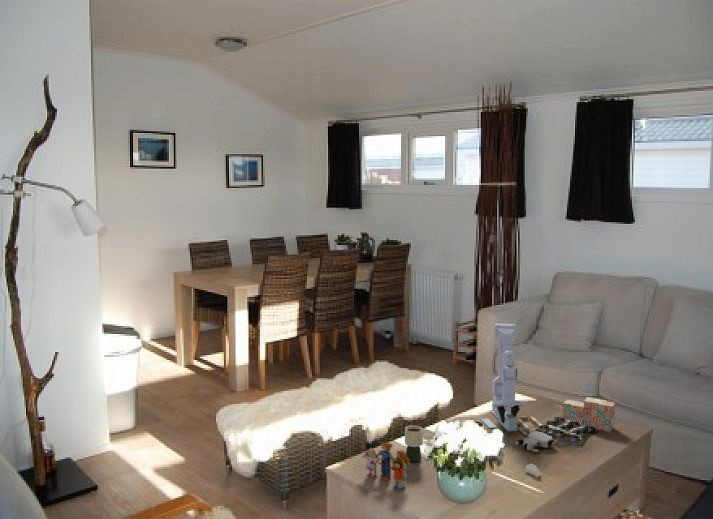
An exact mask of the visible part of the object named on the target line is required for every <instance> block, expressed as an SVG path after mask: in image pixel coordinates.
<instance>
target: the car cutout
mask: <svg viewBox="0 0 713 519" xmlns="http://www.w3.org/2000/svg"><path fill="white" fill-rule="evenodd" d="M524 471H525V472H524V473H525V474H531V475H534V476H535V478H538V477H541V470H540V469H539V468H538V467H537V465H536V464H533V463H529V464H526V465H525V470H524Z"/></svg>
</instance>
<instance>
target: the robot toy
mask: <svg viewBox="0 0 713 519" xmlns="http://www.w3.org/2000/svg"><path fill="white" fill-rule="evenodd" d="M533 431H534V430H533ZM533 431H532V432H531V433H529V434H528V436H527V438H526V439H517V440H516V441H514V444H515V445H519V446H522V448H523V450H527V451H531V452H535V453H538V452H539V450H540V448H549V447H551V446H553V445H554V444H555V443H557V441H558V440H557V439H558V438H556V439H555V440H554V437H553V436H552V435H550V436H549V435H547V434H545V433H543V432H539V431H534V432H533ZM552 437H553V438H552Z"/></svg>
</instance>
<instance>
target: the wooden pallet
mask: <svg viewBox="0 0 713 519" xmlns="http://www.w3.org/2000/svg"><path fill="white" fill-rule="evenodd" d="M515 418H516V419H517V431H518V432H519V433H520V434H521V435H522V436H523V437H528V434H529V433H531V432H532V431H533V430H534V431H535V430H536V428H537V427H539V426H541V425H543V424H542V423H541V422H540V421H539V420H537V419H536V418H535V416H532V415H531V416H528V415H527V416H526V415H525V416H524V415H523V416H516V417H515ZM534 431H533V432H534Z"/></svg>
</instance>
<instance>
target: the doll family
mask: <svg viewBox="0 0 713 519" xmlns="http://www.w3.org/2000/svg"><path fill="white" fill-rule="evenodd" d="M393 446H394V444H393V443H389V442H383V443H381V447H380V448H381V449H382V450H379V451H378V452H377V453H376V450H375V449H374V448H369V449H368V450H365V451H364V454H362V456H361V457H362V458H363V459H366V460H367V462H366V467H365V469H366V470H368V474H366V476H367V477H369V478H371V479H373V480H376V479H378V474H377V464H378V465H380V472H381V473H380V478H383V479H384V480H386V481H387V480H390V479H391V475H392V474H391V470H392V471H393V479H394V485H393V487H392V488H393V489H395V490H396V491H397V492H402V491H403V490H404V488H403V487H404V486H403V485H405V484H406V482H407V477H408V474H406V472H407V471H406V470H407V468H406V465H408V466H410V464H411V463H410V461H409V458H407V456H406V451H405V450H398V451H396V456H395V457H394V456H393V454H392V452H390V451H391V449H392V448H393ZM380 456H381V458H380ZM380 460H381V461H380ZM372 475H373V476H372ZM375 478H376V479H375Z"/></svg>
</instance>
